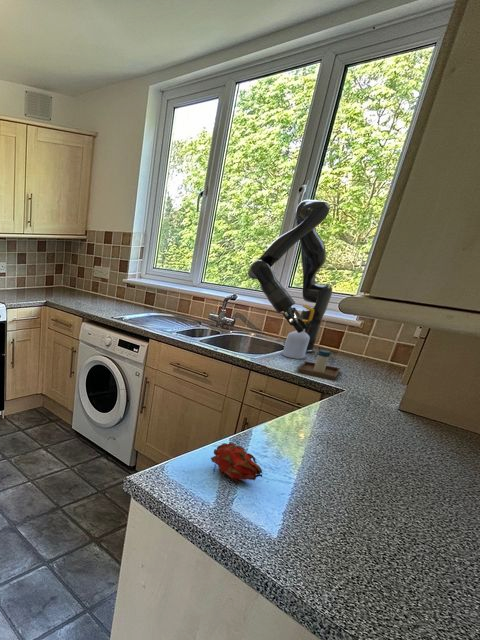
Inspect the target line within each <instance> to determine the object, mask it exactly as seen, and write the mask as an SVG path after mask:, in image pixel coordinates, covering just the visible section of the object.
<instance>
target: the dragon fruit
mask: <svg viewBox="0 0 480 640" xmlns="http://www.w3.org/2000/svg"><path fill="white" fill-rule="evenodd" d="M213 455H214V456H211V458H210V460H211V462H212V463H214V464H215V465H217V467H218V471H219V475H220V476H221V477H224V476H225V475H226V476H228V477H229V478H230V480H233V481H234V482H235V483H239V484H246V482H245V481H246V480H251V481H255V480H256V479H257V478H258V477H260V478H262V477H263V470H262V467H261V466H260V465H259V464H258V462H257V461H256V460H257V459H256V457H255V456H254V455H252V454H251V453H249V452H247V451H246V449H245V448H244V447H242V446H241V445H236V443H234V442H228V443H226V442H224V443H221V444H219V445H217V446H216V449H213Z"/></svg>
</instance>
